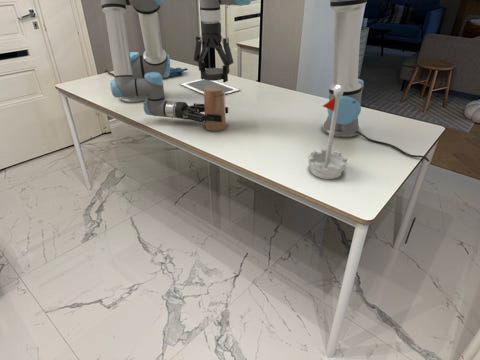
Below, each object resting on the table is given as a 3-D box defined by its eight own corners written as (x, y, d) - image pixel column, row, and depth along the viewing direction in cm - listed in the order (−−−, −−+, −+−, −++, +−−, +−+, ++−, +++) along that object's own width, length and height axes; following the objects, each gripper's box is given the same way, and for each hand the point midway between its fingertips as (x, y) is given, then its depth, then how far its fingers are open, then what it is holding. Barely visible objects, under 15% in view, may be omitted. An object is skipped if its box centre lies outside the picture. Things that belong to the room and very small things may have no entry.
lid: (211, 72, 147) (210, 66, 146) (230, 75, 143) (230, 69, 141) (197, 78, 140) (197, 72, 138) (217, 81, 135) (217, 75, 134)
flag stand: (330, 158, 128) (344, 79, 112) (352, 176, 118) (370, 92, 102) (300, 165, 124) (309, 84, 108) (320, 183, 114) (333, 97, 98)
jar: (225, 131, 150) (224, 91, 140) (204, 131, 150) (201, 91, 140) (226, 122, 157) (225, 84, 148) (206, 122, 158) (204, 84, 148)
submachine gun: (172, 62, 238) (192, 67, 221) (173, 67, 240) (192, 73, 223) (126, 71, 219) (143, 77, 202) (127, 77, 221) (145, 84, 204)
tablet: (180, 84, 205) (180, 83, 205) (207, 78, 216) (207, 77, 216) (211, 98, 184) (211, 97, 184) (240, 90, 196) (240, 89, 195)
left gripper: (187, 109, 165) (231, 113, 160) (168, 127, 147) (217, 132, 142) (185, 93, 161) (231, 97, 156) (166, 110, 143) (216, 115, 138)
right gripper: (241, 22, 128) (242, 80, 140) (191, 19, 137) (196, 74, 149) (232, 25, 123) (234, 85, 135) (181, 21, 131) (186, 79, 143)
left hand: (224, 114), depth 149 cm, fingers closed on jar, 9 cm apart
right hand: (214, 80), depth 142 cm, fingers closed on lid, 10 cm apart
